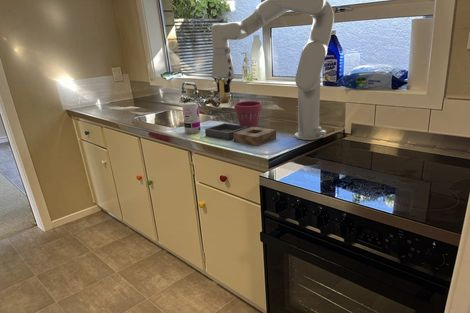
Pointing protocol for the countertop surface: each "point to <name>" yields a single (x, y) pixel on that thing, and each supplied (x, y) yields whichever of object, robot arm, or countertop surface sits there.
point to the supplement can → (191, 117)
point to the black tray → (223, 131)
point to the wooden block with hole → (254, 135)
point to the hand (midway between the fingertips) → (223, 91)
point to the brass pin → (222, 92)
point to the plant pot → (248, 113)
